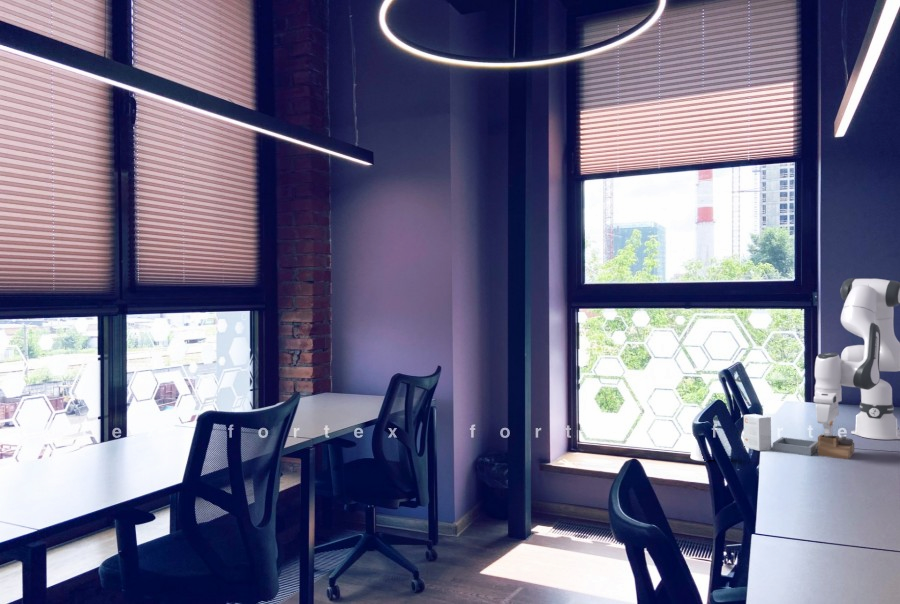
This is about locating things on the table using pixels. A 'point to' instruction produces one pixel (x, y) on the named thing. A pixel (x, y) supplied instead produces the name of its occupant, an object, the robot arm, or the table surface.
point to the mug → (695, 449)
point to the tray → (795, 446)
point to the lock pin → (830, 435)
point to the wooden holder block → (835, 447)
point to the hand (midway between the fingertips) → (828, 432)
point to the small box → (757, 432)
